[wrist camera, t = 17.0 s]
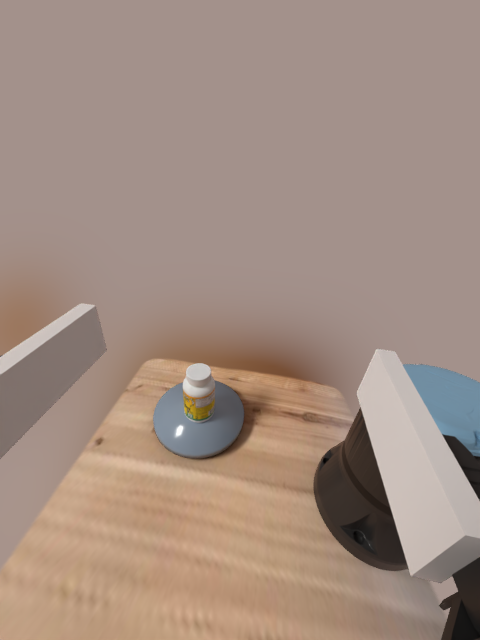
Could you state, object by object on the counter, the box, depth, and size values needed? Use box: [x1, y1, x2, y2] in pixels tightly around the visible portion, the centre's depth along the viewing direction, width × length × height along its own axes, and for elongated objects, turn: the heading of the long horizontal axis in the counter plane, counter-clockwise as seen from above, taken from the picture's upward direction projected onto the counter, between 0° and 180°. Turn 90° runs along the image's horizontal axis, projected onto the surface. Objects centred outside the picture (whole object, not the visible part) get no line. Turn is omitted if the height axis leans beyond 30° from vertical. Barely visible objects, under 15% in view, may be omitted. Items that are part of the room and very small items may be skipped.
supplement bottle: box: [183, 363, 215, 423], centre depth 44 cm, size 5×5×10 cm
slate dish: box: [153, 381, 244, 458], centre depth 47 cm, size 16×16×2 cm
